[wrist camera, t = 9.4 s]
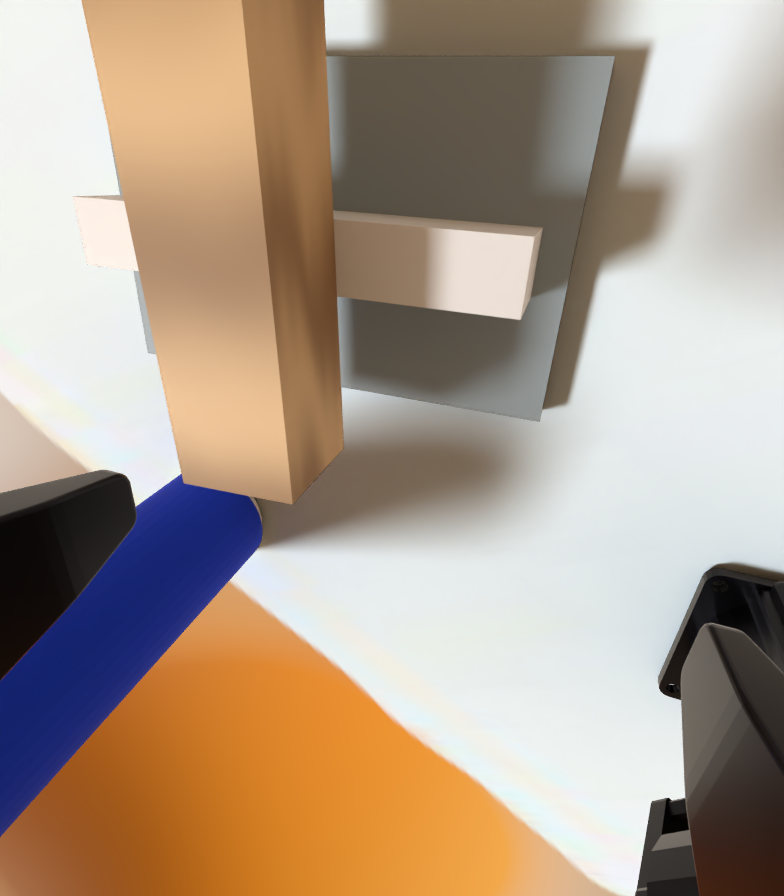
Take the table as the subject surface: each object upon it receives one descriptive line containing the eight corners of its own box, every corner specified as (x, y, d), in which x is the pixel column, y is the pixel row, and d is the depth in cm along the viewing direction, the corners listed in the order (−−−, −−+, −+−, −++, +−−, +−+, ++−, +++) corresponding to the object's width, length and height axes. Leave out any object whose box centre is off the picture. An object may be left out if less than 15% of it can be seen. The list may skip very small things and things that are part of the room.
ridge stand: (541, 410, 18) (532, 462, 15) (164, 346, 22) (90, 375, 19) (613, 64, 14) (622, 25, 10) (119, 62, 18) (9, 33, 14)
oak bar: (343, 448, 17) (292, 504, 14) (250, 433, 18) (183, 483, 15) (321, -37, 11) (229, -115, 8) (188, -21, 12) (63, -85, 9)
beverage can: (216, 444, 24) (-196, 737, 11) (289, 526, 25) (-19, 886, 12) (161, 491, 27) (-223, 773, 14) (229, 565, 27) (-76, 893, 15)
